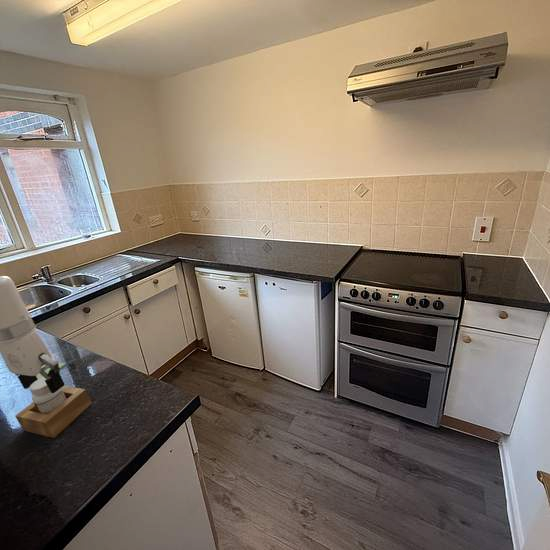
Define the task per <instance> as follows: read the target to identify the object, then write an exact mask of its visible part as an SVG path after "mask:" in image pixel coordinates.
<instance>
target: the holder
mask: <svg viewBox="0 0 550 550" xmlns="http://www.w3.org/2000/svg"><path fill="white" fill-rule="evenodd" d="M62 390H63V392H64V394H65V396H66V398H67V400H65V401H64V402H63V403H62V404H60V405H59V406H58V407H57V408H56V409H54V410H53V411H52V412H51V413H50V414H48V415H46V414H41V413H39V412H38V410H37V408H36V406H35V404H34V403H33V402H32V403H30V404H29V405H27V406H26V407H24V408H23V409H22V410H20V411H19V412H18V413H16V414H15V415H14V417H15V419H16V420H17V422H18V424H19V426H20V427H21V429H22V430H23V432H27V433H28V432H29V433H32V434H36V435H40V436H45V437H49V438H53V439H55V438H56V437H57V436H58V435H59V434H60V433H61V432H63V430H65V429H66V428H67V427H68V426H69V425H70V424H72V423H73V421H74V420H75V419H77V418H78V417H79V416H80V415H81V414H82V413H84V411H86V409H88V408H89V407H90V406H91V405H92V404H93V403H92V401H91V398H90V396H89V394H88V391H87V389H86V388H79V387H73V386H65V385H64V386H63V387H62Z"/></svg>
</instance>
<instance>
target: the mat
mask: <svg viewBox="0 0 550 550" xmlns="http://www.w3.org/2000/svg"><path fill="white" fill-rule="evenodd" d="M58 363H59V368H60V370H61V369H62V368H64V367H66V366H67V365H68V364H67V363H66V362H60V361H58ZM45 366H46V365H43V366H42V367H41V369H42V368H43V367H45ZM49 370H51V369H50V368H48V369H46V370H45V372H46V373H47V374H48V373H49ZM36 377H37V379H40V378H43V376H42V375H41V374H40V373H38V375H36Z"/></svg>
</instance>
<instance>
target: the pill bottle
mask: <svg viewBox="0 0 550 550" xmlns="http://www.w3.org/2000/svg"><path fill="white" fill-rule="evenodd" d="M45 380H46V379H45V378H44V377H43V378H40V379H38V380H37V381H35V382H34V383H32V384H31V386H30V387H29V388H28V389H29V392H30V393H31V395H32V398H31V399H32V403H34V404H35V406H36V408H37V410H38V412H39V413H41V414H46V415H48V414H50V413H51V412H52V411H53V410H54V409H56V408H57V407H58V406H59V405H60V404H62V403H63V402H64V401H65V400H67V398H66V396H65V394H64V392H63V390H62V388H60V389H59V390H58V391H56V392H55V393H51V392H50V390H49V388H48V386H47V384H46V382H45Z"/></svg>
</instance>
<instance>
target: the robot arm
mask: <svg viewBox="0 0 550 550" xmlns="http://www.w3.org/2000/svg"><path fill="white" fill-rule="evenodd" d="M36 328H37V326H36V324H35V321H34V320H33V318H32V316H31V314H30V311H29V310H28V308H27V306H26V303H25V302H24V300H23V298H22V296H21V294H20V292H19V290H18V288H17V286H16V284H15V282H14V280H13V279H12V278H11V277H10V276H7V275H0V355H1V358H2V360H3V362H4V363H5V366H6V367H7V369H8V371H9V372H10V373H12V374H14V375H15V376H17V379H18V380H19V382H20V384H21V386H22V388H23V389H25V390H27V389H29V387H30V386H31V384H32V383H34V382H35V381H37V380H38V379H37V377H36V375H38V373H40V374H41V375H42V376H43V377H44V378H45V379H46V380H45V382H46V384H47V386H48V388H49V390H50V392H51V393H55V392H56V391H58V390H59V389H60V388H62V387H63V386H65V382H64V380H63V377H62V376H61V374H60V373H61V371H60V370H61V369H60V368H59V363H58V362H59V361H58V360H57V359H55V358H53V355H52V354H51V352H50V350H49V348H48V347H47V345H46V343H45V342H44V339H42V337H41V336H40V334H39V332H38V331H37V330H36ZM43 365H46V366H45V367H43V368H42V369H41V367H42V366H43ZM48 368H50V369H51V370H49V373H48V374H47V373H46V372H45V370H46V369H48Z"/></svg>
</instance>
